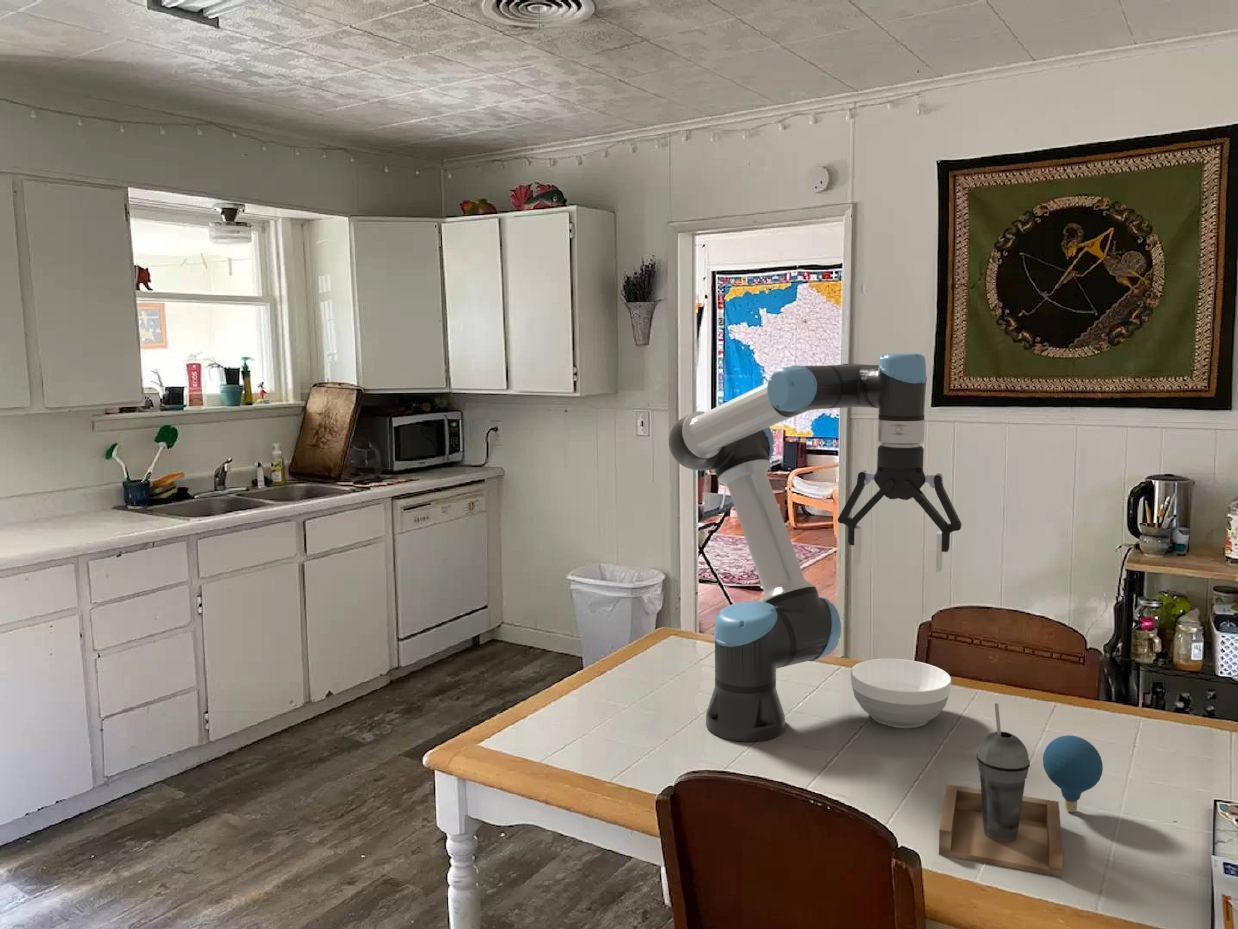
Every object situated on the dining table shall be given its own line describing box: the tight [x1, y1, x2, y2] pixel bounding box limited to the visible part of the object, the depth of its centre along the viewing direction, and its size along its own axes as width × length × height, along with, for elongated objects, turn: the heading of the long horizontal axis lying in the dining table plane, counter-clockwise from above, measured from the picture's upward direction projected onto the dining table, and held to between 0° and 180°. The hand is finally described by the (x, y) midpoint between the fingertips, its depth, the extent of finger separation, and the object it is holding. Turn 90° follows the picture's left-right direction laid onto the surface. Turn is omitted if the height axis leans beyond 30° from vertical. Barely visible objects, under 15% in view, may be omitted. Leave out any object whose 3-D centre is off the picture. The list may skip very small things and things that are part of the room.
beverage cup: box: [976, 703, 1031, 843], centre depth 137 cm, size 7×7×20 cm
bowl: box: [850, 658, 952, 729], centre depth 183 cm, size 19×19×9 cm
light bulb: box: [1042, 735, 1104, 813], centre depth 145 cm, size 8×8×12 cm
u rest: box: [938, 783, 1064, 878], centre depth 138 cm, size 16×15×4 cm
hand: (897, 567), depth 162 cm, fingers open, 13 cm apart
